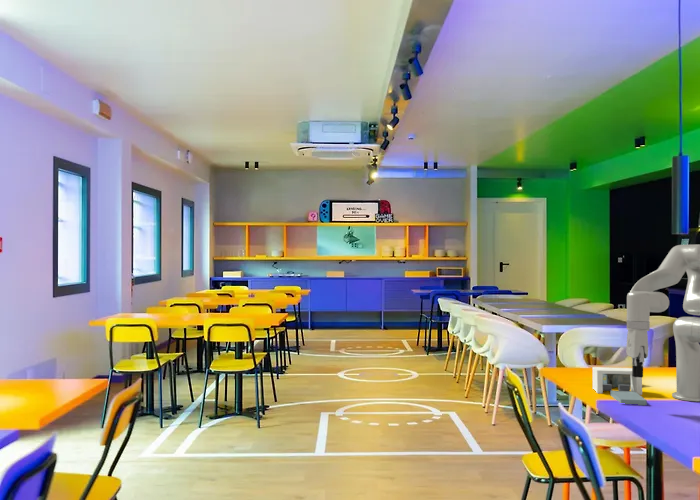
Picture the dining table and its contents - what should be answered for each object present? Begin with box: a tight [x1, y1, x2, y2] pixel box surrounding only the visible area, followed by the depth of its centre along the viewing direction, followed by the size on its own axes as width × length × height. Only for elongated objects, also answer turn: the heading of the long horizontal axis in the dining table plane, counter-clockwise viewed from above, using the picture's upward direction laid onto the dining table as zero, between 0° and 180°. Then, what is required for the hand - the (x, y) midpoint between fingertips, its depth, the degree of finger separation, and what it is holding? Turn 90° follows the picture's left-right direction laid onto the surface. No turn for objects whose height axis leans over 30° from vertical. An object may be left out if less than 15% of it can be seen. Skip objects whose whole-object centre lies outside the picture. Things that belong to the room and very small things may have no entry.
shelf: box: [592, 366, 643, 396], centre depth 246 cm, size 17×8×9 cm, turn 81°
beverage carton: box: [603, 374, 631, 389], centre depth 260 cm, size 8×19×7 cm, turn 116°
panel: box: [609, 389, 648, 406], centre depth 231 cm, size 9×16×2 cm, turn 169°
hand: (637, 376), depth 217 cm, fingers closed
